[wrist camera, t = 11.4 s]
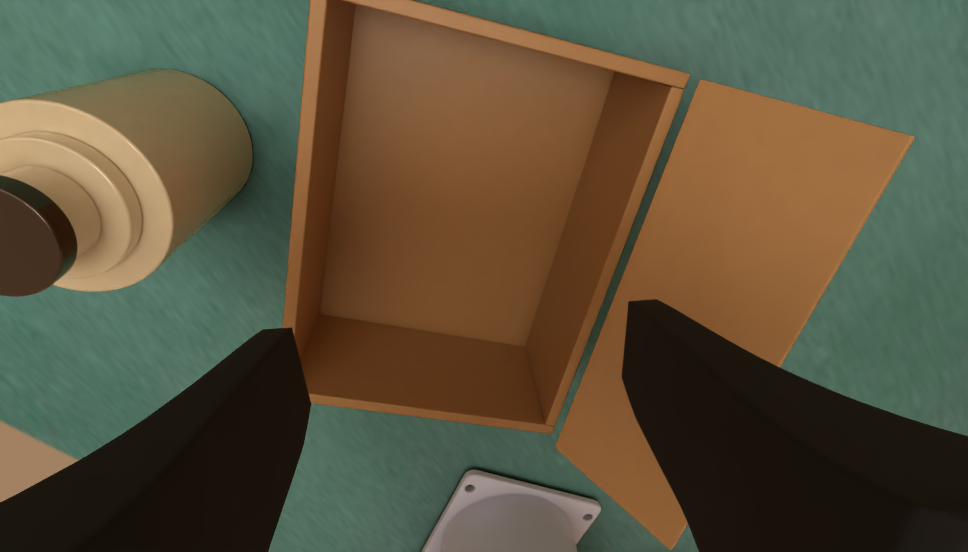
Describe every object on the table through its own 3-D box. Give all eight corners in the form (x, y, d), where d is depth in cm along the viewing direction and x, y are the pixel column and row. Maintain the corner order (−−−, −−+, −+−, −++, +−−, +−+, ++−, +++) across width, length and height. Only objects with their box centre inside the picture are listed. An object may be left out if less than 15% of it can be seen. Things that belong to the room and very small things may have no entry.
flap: (699, 78, 13) (704, 79, 14) (554, 447, 19) (559, 444, 19) (913, 136, 11) (916, 136, 11) (670, 550, 16) (674, 545, 16)
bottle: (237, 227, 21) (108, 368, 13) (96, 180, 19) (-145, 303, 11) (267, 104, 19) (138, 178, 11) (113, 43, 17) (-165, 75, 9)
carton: (626, 56, 19) (691, 73, 14) (529, 350, 24) (552, 434, 19) (347, -18, 17) (311, -27, 12) (310, 315, 23) (276, 399, 18)
